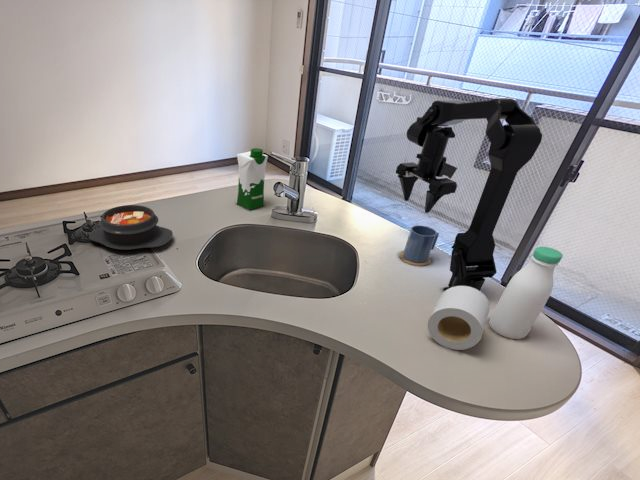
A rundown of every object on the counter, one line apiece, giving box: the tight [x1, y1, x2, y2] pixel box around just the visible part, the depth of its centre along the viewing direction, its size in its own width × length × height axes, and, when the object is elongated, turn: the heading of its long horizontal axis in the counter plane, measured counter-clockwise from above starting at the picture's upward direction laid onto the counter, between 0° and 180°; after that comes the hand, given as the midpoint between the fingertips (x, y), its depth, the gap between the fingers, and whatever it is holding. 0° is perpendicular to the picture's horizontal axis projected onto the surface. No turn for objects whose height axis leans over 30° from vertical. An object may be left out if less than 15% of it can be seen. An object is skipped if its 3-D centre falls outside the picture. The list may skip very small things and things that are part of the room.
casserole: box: [88, 204, 173, 251], centre depth 117 cm, size 25×19×8 cm
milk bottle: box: [488, 246, 563, 340], centre depth 83 cm, size 8×8×20 cm
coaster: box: [398, 250, 432, 267], centre depth 115 cm, size 9×9×1 cm
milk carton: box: [236, 147, 269, 211], centre depth 138 cm, size 9×9×20 cm
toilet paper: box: [427, 286, 491, 351], centre depth 84 cm, size 10×10×10 cm
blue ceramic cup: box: [403, 224, 440, 263], centre depth 112 cm, size 9×7×8 cm
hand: (416, 206), depth 115 cm, fingers open, 9 cm apart
